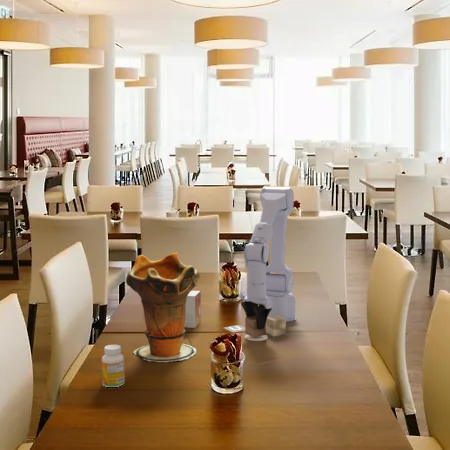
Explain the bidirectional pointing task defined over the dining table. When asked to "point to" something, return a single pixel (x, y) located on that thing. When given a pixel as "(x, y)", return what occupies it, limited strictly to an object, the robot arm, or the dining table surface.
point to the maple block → (276, 325)
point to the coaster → (256, 338)
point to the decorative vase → (163, 305)
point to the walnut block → (253, 327)
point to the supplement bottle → (112, 366)
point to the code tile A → (235, 328)
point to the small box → (193, 309)
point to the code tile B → (275, 336)
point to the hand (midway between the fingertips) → (256, 326)
